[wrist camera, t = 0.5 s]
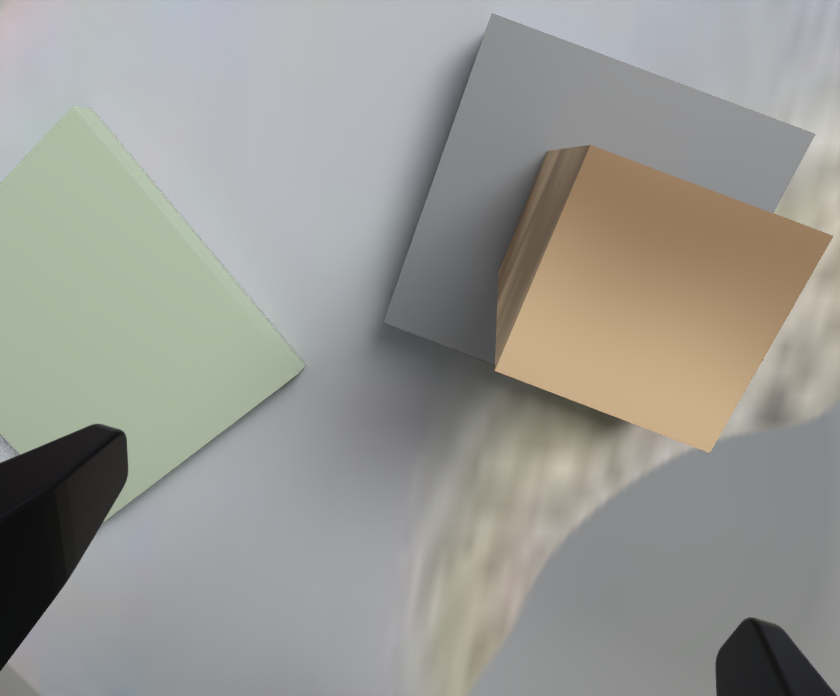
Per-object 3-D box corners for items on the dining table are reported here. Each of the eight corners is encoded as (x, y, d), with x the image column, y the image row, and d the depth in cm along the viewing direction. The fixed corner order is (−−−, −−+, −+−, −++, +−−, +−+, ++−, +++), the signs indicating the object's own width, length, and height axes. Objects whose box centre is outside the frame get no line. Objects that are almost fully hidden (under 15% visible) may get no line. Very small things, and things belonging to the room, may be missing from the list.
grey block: (645, 406, 23) (658, 427, 21) (392, 309, 23) (383, 322, 22) (785, 136, 20) (815, 133, 18) (492, 26, 20) (491, 13, 18)
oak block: (613, 315, 21) (710, 453, 11) (498, 272, 21) (494, 370, 11) (670, 197, 19) (832, 236, 10) (547, 150, 19) (590, 144, 10)
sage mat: (305, 365, 25) (297, 374, 24) (106, 517, 28) (92, 530, 27) (91, 108, 23) (73, 106, 22) (-96, 303, 26) (-119, 309, 25)
